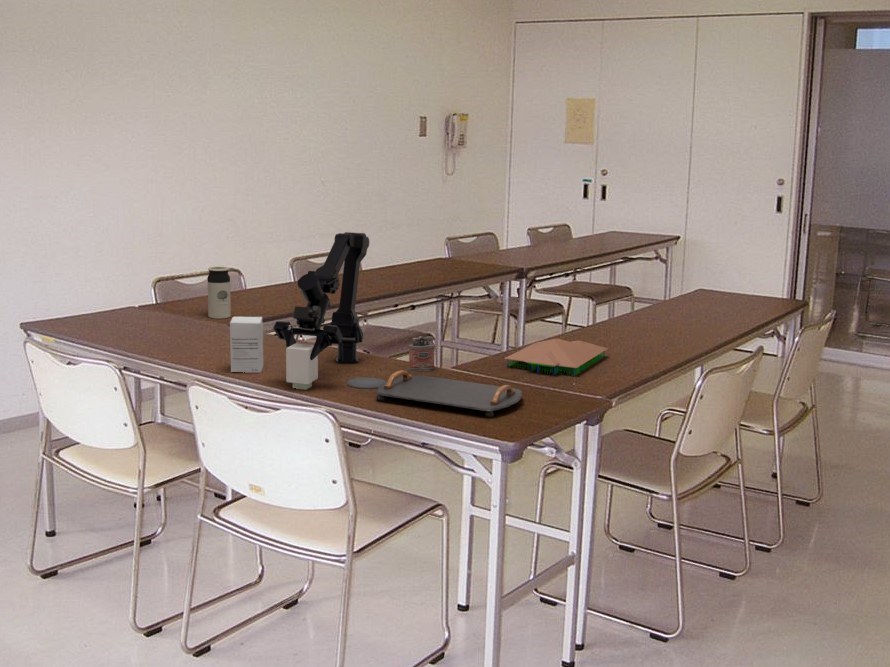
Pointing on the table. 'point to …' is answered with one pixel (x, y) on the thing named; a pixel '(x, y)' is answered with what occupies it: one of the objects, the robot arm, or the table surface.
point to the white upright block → (301, 364)
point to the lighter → (421, 354)
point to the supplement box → (246, 344)
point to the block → (302, 386)
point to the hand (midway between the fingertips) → (299, 358)
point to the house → (557, 355)
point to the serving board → (449, 392)
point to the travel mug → (219, 293)
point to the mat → (365, 383)
